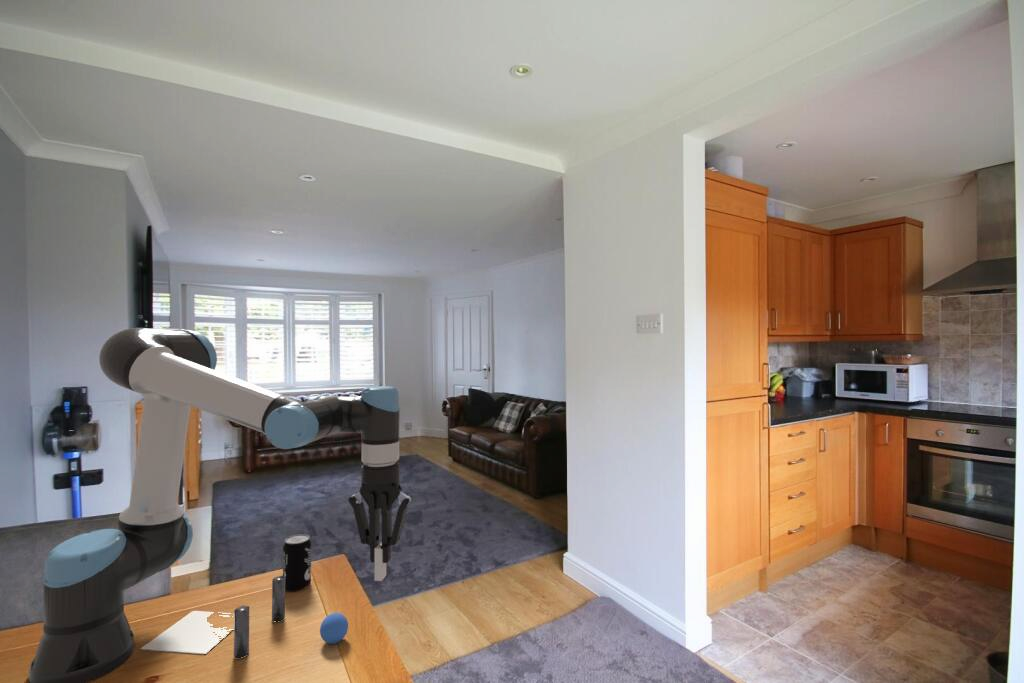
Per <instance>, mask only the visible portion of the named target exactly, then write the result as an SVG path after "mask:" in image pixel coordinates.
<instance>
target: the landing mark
mask: <svg viewBox="0 0 1024 683" xmlns="http://www.w3.org/2000/svg"><path fill="white" fill-rule="evenodd" d="M214 612H215V611H204V610H203V611H201V610H192V611H191V612H189V613H187V615H185V616H184V617H183V618H181V619H180V620H178V621H176V622H175V623H174V624H172V625H171V626H170V627H168V628H167V629H166V630H164V631H162V633H160V634H158V635H157V636H156V637H155V638H153V639H151V641H149V642H148V643H146V644H145V645H143V646H142V647H140V651H141V650H142V651H153V652H155V651H157V652H165V653H166V652H167V653H169V652H170V653H179V654H195V655H204V654H206V655H208V654H209V653H210V652H211V651H212V650H213V649H214V648H215V647H216V646H218V643H219V642H220V641H219V640H222V639H223V638H224V639H226V638H227V637H228V636H227V635H226V634H229V632H227V631H230V630H234V629H229V630H226V629H224V628H227V627H223V628H220V627H219V628H213V627H210V626H213V624H210V623H209V622H207V617H209V616H210V615H211V614H213V613H214ZM217 612H218V611H217ZM218 613H222V614H231V613H232V612H218ZM233 614H234V613H233ZM219 616H223V617H230V616H229V615H219ZM232 617H233V616H232ZM221 629H223V630H221ZM213 632H215V633H213ZM215 634H217V635H215ZM229 635H230V634H229ZM218 636H221V637H218ZM226 636H227V637H226ZM219 638H222V639H219ZM224 639H223V640H224ZM223 640H222V641H223ZM220 643H221V642H220ZM220 643H219V644H220ZM214 646H215V647H214ZM213 647H214V648H213ZM212 648H213V649H212ZM211 649H212V650H211ZM210 650H211V651H210Z"/></svg>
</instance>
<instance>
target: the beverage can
mask: <svg viewBox="0 0 1024 683" xmlns="http://www.w3.org/2000/svg"><path fill="white" fill-rule="evenodd" d="M282 576H284V577H285V591H287V590H288V592H297V590H298V591H301V589H302V590H304V589H306V588H307V587H308V586H309V585H310V584H311V581H312V580H311V579H312V541H311V539H310V535H308V534H303V533H301V534H293V535H290V536H288V537H287V538H285V539H284V544H282ZM305 587H306V588H305Z"/></svg>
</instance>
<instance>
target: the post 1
mask: <svg viewBox="0 0 1024 683" xmlns="http://www.w3.org/2000/svg"><path fill="white" fill-rule="evenodd" d="M249 615H250V606H249V605H240V606H239V607H236V608H235V609H234V631H233V658H234V657H235V658H241V657H244V656H246V655H248V656H249V655H250V617H249ZM246 657H247V656H246ZM235 658H234V659H235Z"/></svg>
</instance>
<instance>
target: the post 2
mask: <svg viewBox="0 0 1024 683" xmlns="http://www.w3.org/2000/svg"><path fill="white" fill-rule="evenodd" d="M271 581H272V583H271V584H272V585H271V622H272V621H276V622H277V623H279V622H278V621H281V620H283V619H284V618H285V617H286V589H285V577H284V576H283V575H279V576H276V577H273V578H272V580H271ZM284 620H285V619H284ZM284 620H283V621H284ZM281 622H282V621H281Z"/></svg>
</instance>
